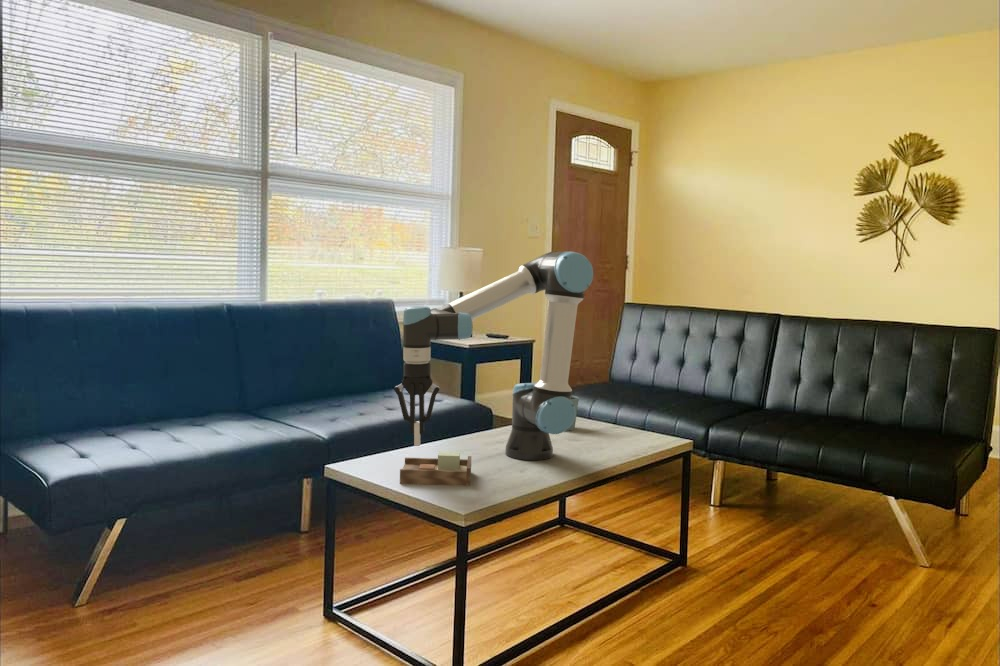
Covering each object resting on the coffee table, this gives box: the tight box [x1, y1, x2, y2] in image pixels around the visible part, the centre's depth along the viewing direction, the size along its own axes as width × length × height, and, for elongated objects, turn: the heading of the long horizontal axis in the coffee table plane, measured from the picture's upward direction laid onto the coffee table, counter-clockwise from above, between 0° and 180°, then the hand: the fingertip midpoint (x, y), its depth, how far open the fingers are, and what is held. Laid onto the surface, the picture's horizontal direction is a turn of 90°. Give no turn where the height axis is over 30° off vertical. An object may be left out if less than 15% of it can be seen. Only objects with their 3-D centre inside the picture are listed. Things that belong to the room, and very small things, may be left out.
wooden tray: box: [399, 455, 472, 487], centre depth 215 cm, size 19×13×5 cm
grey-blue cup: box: [565, 394, 580, 432], centre depth 286 cm, size 10×10×12 cm
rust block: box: [419, 464, 435, 470], centre depth 213 cm, size 4×4×4 cm
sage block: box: [437, 450, 461, 470], centre depth 218 cm, size 6×4×4 cm
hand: (417, 444), depth 218 cm, fingers closed
